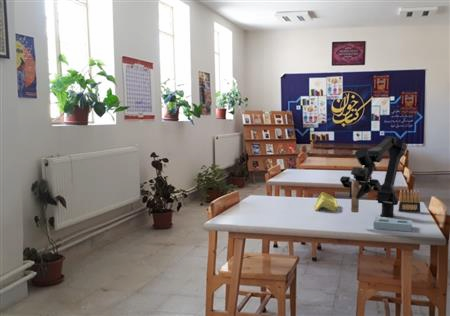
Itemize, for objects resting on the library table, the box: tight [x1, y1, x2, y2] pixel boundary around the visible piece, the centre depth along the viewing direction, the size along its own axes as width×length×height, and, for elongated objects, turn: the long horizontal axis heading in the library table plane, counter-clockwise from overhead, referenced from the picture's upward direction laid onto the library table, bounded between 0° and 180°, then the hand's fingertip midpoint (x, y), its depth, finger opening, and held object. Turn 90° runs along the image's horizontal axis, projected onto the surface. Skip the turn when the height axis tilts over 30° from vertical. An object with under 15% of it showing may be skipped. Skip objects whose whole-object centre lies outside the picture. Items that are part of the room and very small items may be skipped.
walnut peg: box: [350, 181, 360, 213], centre depth 224 cm, size 3×3×14 cm
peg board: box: [373, 217, 413, 232], centre depth 223 cm, size 10×16×3 cm, turn 68°
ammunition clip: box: [397, 188, 421, 213], centre depth 258 cm, size 11×2×12 cm, turn 79°
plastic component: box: [314, 192, 339, 212], centre depth 269 cm, size 20×7×10 cm
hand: (353, 198), depth 223 cm, fingers closed on walnut peg, 3 cm apart
